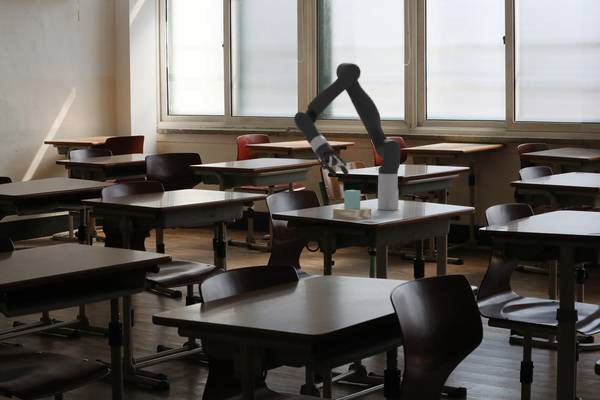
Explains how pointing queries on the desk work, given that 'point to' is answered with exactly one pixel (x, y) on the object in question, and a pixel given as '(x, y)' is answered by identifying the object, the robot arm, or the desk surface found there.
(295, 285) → the desk surface
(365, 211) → the block
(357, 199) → the teal block
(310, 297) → the desk surface
